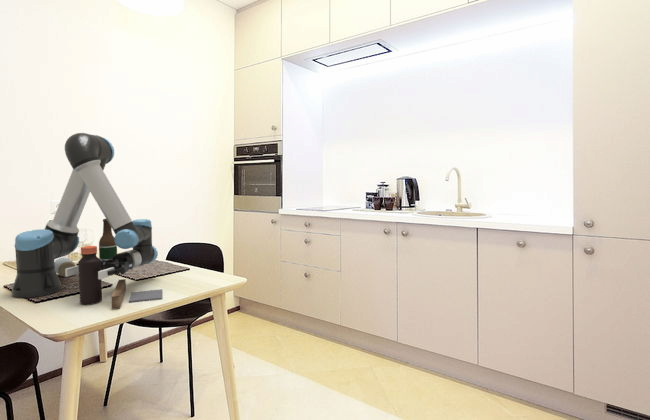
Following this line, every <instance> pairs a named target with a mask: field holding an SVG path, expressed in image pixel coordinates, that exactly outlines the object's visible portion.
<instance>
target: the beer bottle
mask: <svg viewBox="0 0 650 420" xmlns="http://www.w3.org/2000/svg"><path fill="white" fill-rule="evenodd" d="M102 222H103V225H102V226H103V227H102V235H101V237H100V238H99V241H98V258H99V259H100V260H102V259H103V260H108V259H112V258H113V257H114V256H115V255H116V254H118V246H117V245H116V244H115V235H113V232H112V231H113V229H112V227H111V226H110V224H109V222H108V221H107V219H106V218H103V219H102ZM103 268H105V266H103Z"/></svg>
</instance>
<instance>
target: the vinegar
mask: <svg viewBox="0 0 650 420" xmlns="http://www.w3.org/2000/svg"><path fill="white" fill-rule="evenodd" d="M97 254H98V246H97V245H87V246H81V247H80V256H82V257H81V258H80V259H79V261H78V263H77V264H78V268H79V273H78V283H79V284H78V285H79V286H78V287H79V303H80V304H81V305H84V306H85V305H86V306H87V305H88V306H89V305H94V304H98V303H101V301H103V293H102V292H103V291H102V279H98V272H99V271H102V270H101V261H100V259H99V256H98V257H97Z"/></svg>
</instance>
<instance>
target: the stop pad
mask: <svg viewBox="0 0 650 420" xmlns="http://www.w3.org/2000/svg"><path fill="white" fill-rule="evenodd" d="M149 300H150V301H156V300H157V301H158V300H163V289H153V290H150V289H149V290H140V291H131V292H130V295H129V300H128V303H129V304H130V303H139V302H140V301H141V302H148V301H149Z"/></svg>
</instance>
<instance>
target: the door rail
mask: <svg viewBox="0 0 650 420" xmlns="http://www.w3.org/2000/svg"><path fill="white" fill-rule="evenodd" d="M126 291H127V279H126V278H125V279H124V278H123V279H118V281H117V283H116V285H115V288H114V289H113V292H112V294H111V310H118V309H119V310H120V309H121V307H122V306H121V305H122V304H123V300H124V297H125V294H126V293H127V292H126Z"/></svg>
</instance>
